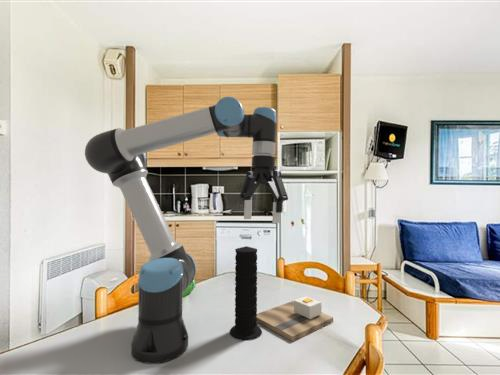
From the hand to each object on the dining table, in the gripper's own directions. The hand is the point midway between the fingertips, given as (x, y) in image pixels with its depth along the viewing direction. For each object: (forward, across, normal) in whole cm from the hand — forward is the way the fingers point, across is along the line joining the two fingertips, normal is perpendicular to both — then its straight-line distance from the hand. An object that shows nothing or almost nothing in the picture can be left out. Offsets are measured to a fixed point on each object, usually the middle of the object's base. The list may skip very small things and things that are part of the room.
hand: (261, 221), depth 91 cm
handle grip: (+34, 0, +5) cm, 35 cm away
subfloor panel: (+34, -5, -12) cm, 36 cm away
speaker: (+36, +39, +9) cm, 54 cm away
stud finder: (+31, -7, -17) cm, 36 cm away
